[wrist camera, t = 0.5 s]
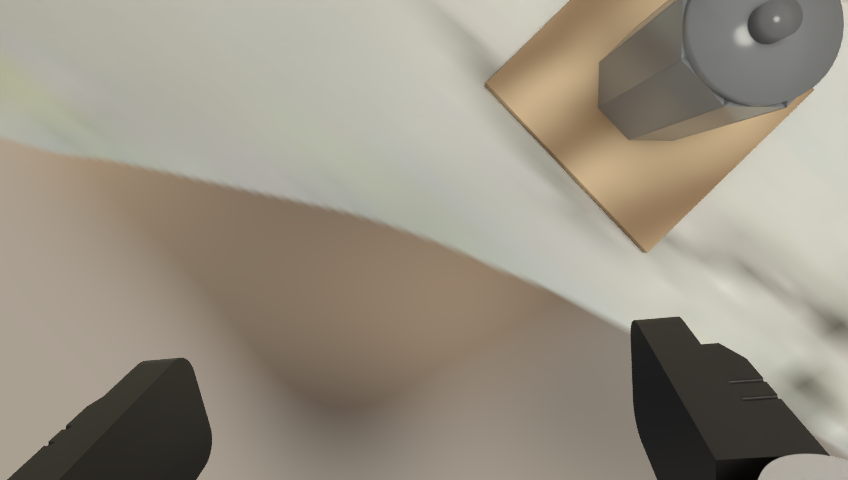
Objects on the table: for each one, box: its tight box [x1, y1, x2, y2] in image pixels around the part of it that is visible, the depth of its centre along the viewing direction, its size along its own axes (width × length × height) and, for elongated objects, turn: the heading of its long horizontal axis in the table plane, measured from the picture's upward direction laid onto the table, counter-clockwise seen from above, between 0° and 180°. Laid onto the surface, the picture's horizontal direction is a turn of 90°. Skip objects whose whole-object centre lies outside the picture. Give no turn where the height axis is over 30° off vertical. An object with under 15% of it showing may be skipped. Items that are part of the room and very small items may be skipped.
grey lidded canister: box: [598, 0, 844, 141], centre depth 29 cm, size 6×6×12 cm
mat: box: [485, 0, 814, 253], centre depth 35 cm, size 14×14×1 cm
